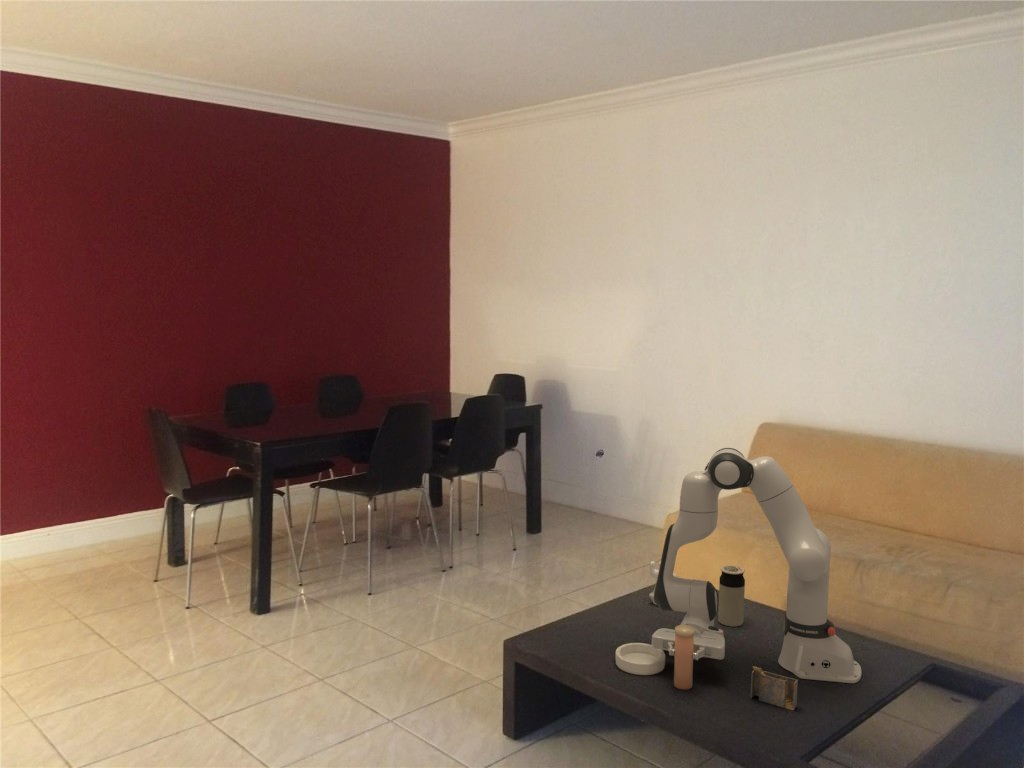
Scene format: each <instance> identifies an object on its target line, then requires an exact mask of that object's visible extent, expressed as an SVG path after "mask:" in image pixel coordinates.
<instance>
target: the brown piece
mask: <svg viewBox="0 0 1024 768" xmlns="http://www.w3.org/2000/svg"><path fill="white" fill-rule="evenodd" d="M752 669H753V670H752V671H751V678H750V680H751V682H750V699H752V698H753V697H754V696H756V697H758V701H759V702H763V703H767V704H770V705H774V706H777V707H780V708H784V709H788V710H791V711H795V709H796V707H797V703H798V684H799V683H798V682H799V680H798V679H796V678H792V677H789V676H784V675H781V674H777V673H773V672H769V671H766V670H765V671H764V670H762V667H758V666H753V665H752Z"/></svg>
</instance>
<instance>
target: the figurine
mask: <svg viewBox="0 0 1024 768" xmlns="http://www.w3.org/2000/svg"><path fill="white" fill-rule="evenodd" d="M660 563H661V560H660V561H659V563H658V567H659V568H660ZM658 574H659V569H656V562H655V561H654V560H653V561H650V563H649V575H650V577H651V578H654V579H655V578H656V579H657V578H658ZM673 575H674V577H676V578H678V576H677V574H676V572H675V573H674V572H673ZM649 598H650V599H651V601H652V603H653V605H654V604H655V605H654V606H657V604H656V603H655V602H654V590H653V591H652V592H650V593H649Z"/></svg>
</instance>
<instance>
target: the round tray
mask: <svg viewBox="0 0 1024 768" xmlns="http://www.w3.org/2000/svg"><path fill="white" fill-rule="evenodd" d="M664 651H665V650H662V649H656V648H653V647H652V644H649V643H643V642H630V643H629V642H628V643H625V644H621V646H618V647H617V648H616V650H615V665H616V667H617V668H619V669H620V670H621V671H623V672H626V673H628V674H630V675H631V674H632V675H637V676H652V675H655V674H658V673H661V672H662V671H663V670H665V667H666V666H665V665H666V654H665V652H664Z"/></svg>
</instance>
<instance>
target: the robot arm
mask: <svg viewBox="0 0 1024 768" xmlns="http://www.w3.org/2000/svg"><path fill="white" fill-rule="evenodd" d="M742 488H748V489H750V491H751V492H752V495H754V497H755V499H756V501H757V503H758V505H759V506H760V508H761V510H762V511H763V514H764V515H765V517H766V519H767V520H768V522H769V524H770V526H771V528H772V531H773V533H774V535H775V537H776V540H777V542H778V545H779V547H780V549H781V552H782V553H783V555H784V557H785V559H786V561H787V563H788V568H789V569H788V577H787V579H788V580H787V589H786V591H787V593H786V595H787V596H786V611H785V612H786V613H785V615H784V618H783V635H784V636H783V643H782V647H781V651H780V654H779V657H778V659H777V660H778V661H777V662H778V664H779V665H780V666H781V667H782V668H783V669H785V670H787V671H788V672H791V673H792V674H794V675H795V676H796V677H797V678H799V679H802V680H803V679H804V680H814V681H823V682H825V681H826V682H835V683H836V682H837V683H846V684H856V683H858V682H859V681H860V680H861V678H862V668H861V665H860V664H859V663H858V662H857V661H856V660H854V655H853V652H852V650H851V647H850V646H849V644H848V643H846V642H844V641H843V639H841V638H840V637H839V636H838V635H836V628H835V624H834V621H833V620H831V621H830V620H829V619H828V606H829V605H828V604H829V603H828V600H829V587H830V585H829V584H830V583H829V582H830V569H831V568H830V567H831V566H830V565H831V564H830V563H831V550H832V549H831V548H832V547H831V542H830V539H829V537H827V535H826V534H825V533H824V532H823V530H821V529H819V528H817V527H815V525H814V523H813V520H812V518H811V516H810V513H809V510H808V509H807V507H806V505H805V503H804V501H803V500H802V498H801V496H800V495H799V492H798V491H797V489H796V487H795V486H794V484H793V482H792V480H791V479H790V477H789V476H788V474H787V473H786V471H785V470H784V468H782V466H781V465H780V464H779V462H778V461H777V460H776V459H775V458H774V457H771V456H768V455H767V456H766V455H765V456H759V457H756V458H754V459H748V458H745V456H744V455H743V453H741V451H739V450H738V449H737V448H736V449H735V448H732V447H723V448H721V449H719V450H717V451H716V452H715V453H714V454H713V455H711V458H710V459H709V461H708V462H707V464H706V466H705V467H704V470H702V471H698V470H697V471H692V472H690V473H687V474H686V475H685V476H684V478H683V479H682V484H681V489H680V496H679V513H678V517H677V519H676V521H675V522H673V523H672V524H670V525H669V526H668V527H669V528H668V529H667V532H666V534H665V538H664V544H663V548H662V553H661V558H660V561H661V563H660V567H659V568H658V570H659V574H658V578H656V582H655V585H654V589H653V591H654V602H655V603H656V604H657V605H656V606H657V607H658V608H659V609H660V610H662V611H663V612H682V613H686V614H685V616H684V617H683V619H682V621H681V623H680V624H679V625H688V626H691V627H693V628H694V649H693V657H692V659H693V661H698V660H699V659H702V658H709V659H715V660H723V659H725V654H726V653H725V651H726V650H725V649H726V639H725V637H724V629H722V628H718V627H715V626H714V625H715V618H716V617H717V616H718V615H717V614H718V610H719V591H717V589H716V587H715V586H714V585H713V584H714V583H712V582H711V581H709V580H702V579H693V578H692V579H691V578H682V577H681V578H680V577H677V576H676V577H677V578H676V577H674V575H673V573H674V572H675V570H674V569H675V565H676V559H677V555H678V552H679V551H678V550H680V548H681V547H683V546H686V545H687V544H691V543H692V544H693V543H695V542H698V541H701V540H704V539H706V538H707V537H709V536H710V535H712V534H713V533H714V531H715V530H716V528H717V525H718V515H719V513H718V511H719V506H718V505H719V495H720V493H721V491H722V490H726V491H728V490H729V491H731V490H732V491H733V490H736V489H742ZM651 645H652V647H653V648H656V649H661V650H662V651H668V655H669V656H671V657H672V656H673V657H675V629H672V628H667V627H666V628H665V627H662V628H658V629H657V630H655V631H654V633H653V634H652V635H651Z"/></svg>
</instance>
